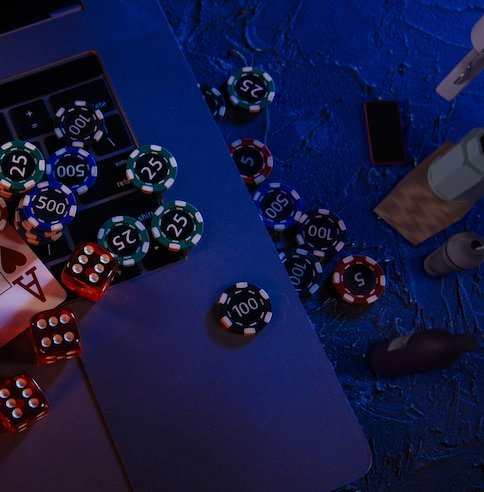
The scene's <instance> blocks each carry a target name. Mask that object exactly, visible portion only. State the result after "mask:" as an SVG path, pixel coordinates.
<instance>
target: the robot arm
mask: <svg viewBox="0 0 484 492" xmlns="http://www.w3.org/2000/svg"><path fill="white" fill-rule="evenodd" d="M470 41H471V45H472V46H473V47H472V49H471V50H470V51H469V52H468V53H467V54H466V55H465V56H464V57H463V58H462V59H461V60H460V62H458V63H457V64H456V66H455V67H453V69H452V70H451V71H450V72H449V73H448V74H447V75H446V76H445V78H443V79H442V81H441V82H440V83H439V84H438V85H437V86H436V88H435V91H436V93H437V94H438V95H439V96H441V97H442V98H443V99H444V100H447V101H449V102H450V101H451V102H452V101H453V100H454V99H456V98H457V97H458V96H459V95H460V93H462V92H463V91H464V89H466V87H468V85H469V84H470V83H471V82H472V81H474V79H476V77H477V76H478V75H480V73H481V72H482V71H483V70H484V14H483V15H482V16H481V17H480V18H479V19H478V20H477V22H476V23H475V24H474V25H473V27H472V29H471V32H470Z"/></svg>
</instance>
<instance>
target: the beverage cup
mask: <svg viewBox="0 0 484 492" xmlns="http://www.w3.org/2000/svg"><path fill="white" fill-rule="evenodd" d="M483 263H484V238H483V237H482V236H481V235H479V234H477V233H476V232H475V233H474V232H472V231H463V232H458V233H455V234H452V235H451V236H450V237H448V238H447V240H446V241H445V243H444V244H442V245H441V246H439V247H438V248H436V250H434V251H433V252H432V253H430V254H429V255H428V256H427V257H426V258H425V259H424V261H423V266H424V270H425V271H426V273H427V274H429V275H430V276H432V277H440V276H445V275H449V274H453V273H456V272H460V271H473V270H475V269H477V268H479V266H481V265H482V264H483Z"/></svg>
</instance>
